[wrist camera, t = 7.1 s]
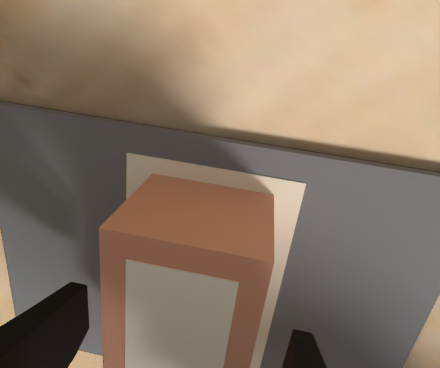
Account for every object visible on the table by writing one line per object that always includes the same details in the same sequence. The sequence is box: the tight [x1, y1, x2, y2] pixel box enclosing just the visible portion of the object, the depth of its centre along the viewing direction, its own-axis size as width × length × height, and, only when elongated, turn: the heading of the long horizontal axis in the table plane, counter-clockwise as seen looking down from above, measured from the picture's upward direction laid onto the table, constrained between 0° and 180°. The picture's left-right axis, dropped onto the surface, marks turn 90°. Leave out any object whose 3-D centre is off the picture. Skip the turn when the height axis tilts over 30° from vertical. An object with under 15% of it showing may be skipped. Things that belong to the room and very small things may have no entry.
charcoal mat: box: [0, 101, 440, 368], centre depth 14 cm, size 18×12×1 cm, turn 83°
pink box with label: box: [99, 173, 274, 368], centre depth 11 cm, size 8×4×4 cm, turn 173°
